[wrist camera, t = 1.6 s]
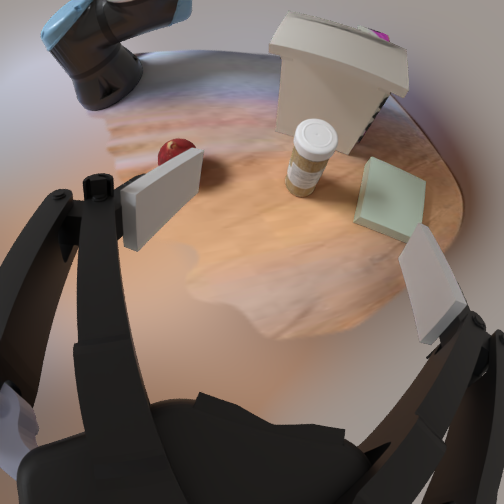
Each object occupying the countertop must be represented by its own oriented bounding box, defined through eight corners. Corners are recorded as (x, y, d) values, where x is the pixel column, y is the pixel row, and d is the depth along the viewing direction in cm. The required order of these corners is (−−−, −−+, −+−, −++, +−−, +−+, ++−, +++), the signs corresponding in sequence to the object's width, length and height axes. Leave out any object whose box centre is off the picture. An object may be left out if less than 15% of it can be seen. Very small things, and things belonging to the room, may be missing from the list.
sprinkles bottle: (296, 164, 39) (311, 110, 26) (321, 182, 38) (347, 134, 25) (278, 185, 38) (286, 135, 25) (303, 204, 38) (324, 161, 25)
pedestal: (353, 222, 37) (360, 216, 34) (364, 164, 39) (371, 156, 36) (409, 244, 37) (419, 240, 34) (416, 187, 38) (425, 181, 35)
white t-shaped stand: (264, 160, 39) (269, 43, 17) (277, 125, 40) (288, 10, 18) (341, 185, 38) (408, 90, 16) (349, 149, 39) (406, 49, 17)
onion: (196, 190, 39) (182, 167, 31) (161, 184, 39) (142, 161, 31) (208, 156, 39) (197, 127, 32) (174, 151, 40) (158, 124, 32)
